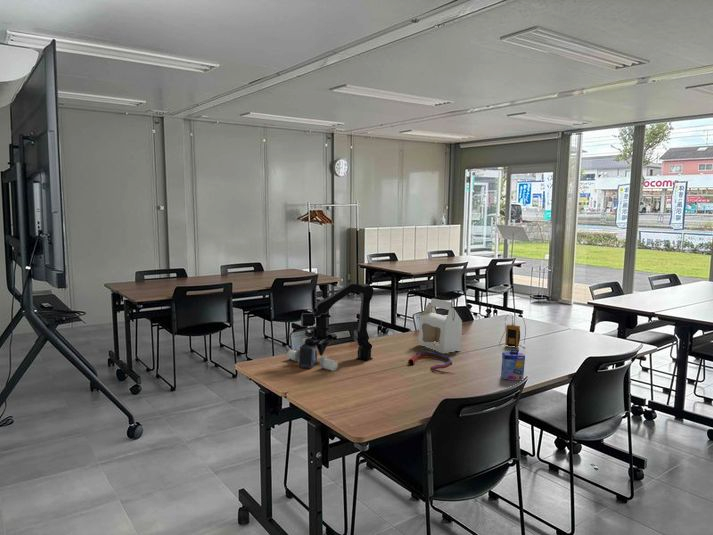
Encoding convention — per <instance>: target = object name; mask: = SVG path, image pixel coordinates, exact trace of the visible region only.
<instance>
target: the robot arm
mask: <svg viewBox="0 0 713 535" xmlns="http://www.w3.org/2000/svg"><path fill="white" fill-rule="evenodd" d="M374 291H375V290H374V287H373V286H372V285H369V284H368V283H363V284H359V283H352V282H349V283H347V284H346V285H345V286H343V287H342V288H340V289H339V290H337V291H335V293H333V294H332V295H330V296H328V297H325V298H323V299H321V300H318V301H317V302H315V305H314V308H313V309H312V310H311V312H309V313H308V312H307V313H305V312H302V313H301V318H300V327H303V328H304V327H313V326H315V327H313V329H312V330H311V329H307V330H305V332H304V335H305V337H307V338H305V340H304V344H306V345H310V346H316V345H317V352H318V354H319V356H321V357H323V355H324V352H325V351H326V349H327V347H328V345H329V344H330V341H328V340H330V339H331V340H332V341H337V338H338V336H337V333H333V332H328V331H329V330H330V329H329V328H330V327H328V318H332V316H331V314H330V313H329V312H328V311H330V310H331V308H332V307H333V305H335V304H336V303H338V302H339V301H340V300H342V299H343V298H345V297H346V296H348V295H349V294H351V293H352V292H355V293H357V294H358V293H359V296H360V297H359V298H360V308H359V309H360V310H359V320H358V327H357V329H356V330H355V329H354V331H353V336H352V337H353V339H354V342H355V343H356V344H357V345H358V346H357V347H358V349H357V357H356V360H358V361H359V360H360V361H362V362H367V361H370V360H373V359H374V358H373V357H372V348H373V344H371V343H370V342H369V333H368V328H367V327H368V320H369V312H370V303H371V300H372V298H373V296H374Z"/></svg>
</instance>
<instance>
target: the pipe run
mask: <svg viewBox="0 0 713 535" xmlns="http://www.w3.org/2000/svg"><path fill="white" fill-rule="evenodd" d="M286 358H287V360H290V359H291V361H295V362H298V363H299V361H300V349H298V350H294V349H289V350H288V351H287V353H286ZM319 367H320V368H321V369H325V370H328V371H332V372H335V371H336V370H337V368H338V361H337V360H333V359H331V358H329V357H328V356H327V355H324V356H323V355H322V356H321V357H320V360H319ZM334 370H335V371H334Z"/></svg>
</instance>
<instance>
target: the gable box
mask: <svg viewBox="0 0 713 535" xmlns="http://www.w3.org/2000/svg"><path fill="white" fill-rule="evenodd" d="M436 308H439V309H443V310H448V312H447V316H446V315H443V314H439V313H437V311H436ZM418 329H419V330H418V345H419V344H420V345H422V346H425V347H428V348H430V349H429V350H431V349H433V350H432V351H434V350H436V351H435V352H437V351H439V352H441V353H440V354H442V353H447V354H449V353H448V352H453V353H455V352H454V351H458V352H460V351H459V350H462V336H463V335H462V333H463V332H462V331H463V320H462V319H461V317H460V315H459V314H458V312H457V311H456V309H455V308H454V304H453V303H452V302H450V301H446V300H441V299H438V298H434V297H433V298H431V301H430V302H428V303H427V305H426V307H425V308H424V310H423V311H422V313H421V314H420V315H419V327H418ZM434 341H436V342H439V346H436V345H435V344H433V343H431V342H434ZM420 345H419V346H420ZM422 346H421V347H422ZM425 347H424V348H425ZM428 348H427V349H428ZM439 352H438V353H439Z"/></svg>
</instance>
